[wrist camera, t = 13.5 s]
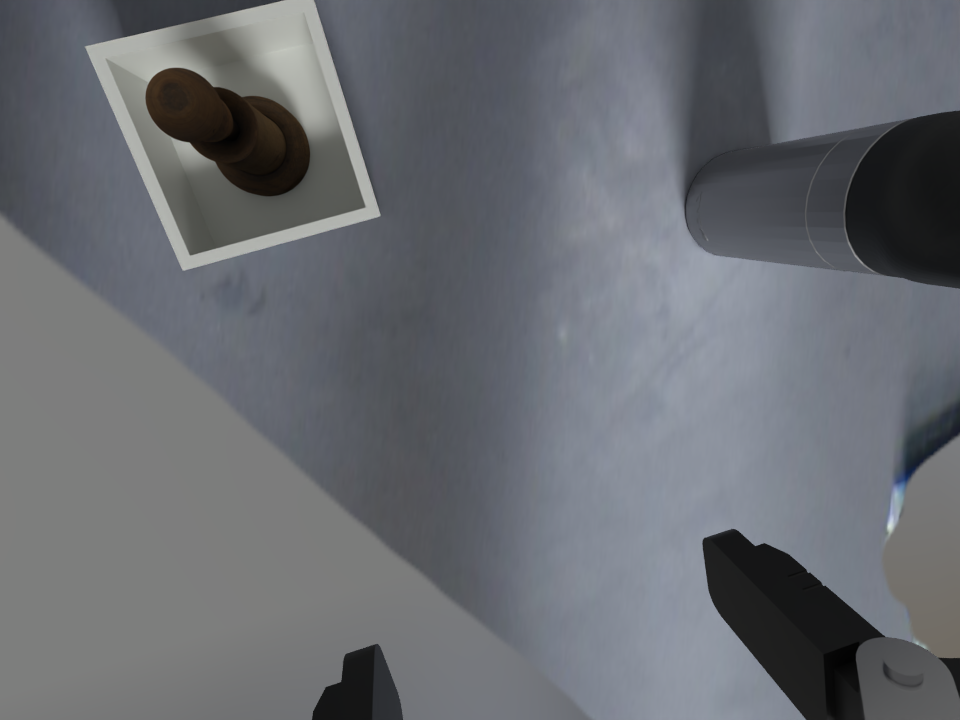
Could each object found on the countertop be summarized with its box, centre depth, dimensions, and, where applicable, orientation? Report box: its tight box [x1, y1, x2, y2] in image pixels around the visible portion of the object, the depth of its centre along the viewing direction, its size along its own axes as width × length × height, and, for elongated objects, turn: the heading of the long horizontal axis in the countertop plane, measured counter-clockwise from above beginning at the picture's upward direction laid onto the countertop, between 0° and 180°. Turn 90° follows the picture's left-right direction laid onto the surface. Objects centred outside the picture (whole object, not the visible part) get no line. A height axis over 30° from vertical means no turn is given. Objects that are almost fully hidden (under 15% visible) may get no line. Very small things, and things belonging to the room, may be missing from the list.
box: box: [85, 0, 381, 271], centre depth 37 cm, size 14×14×7 cm
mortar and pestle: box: [145, 68, 310, 196], centre depth 31 cm, size 7×6×18 cm
